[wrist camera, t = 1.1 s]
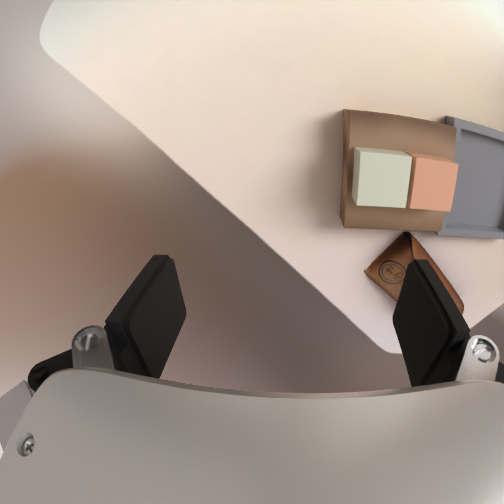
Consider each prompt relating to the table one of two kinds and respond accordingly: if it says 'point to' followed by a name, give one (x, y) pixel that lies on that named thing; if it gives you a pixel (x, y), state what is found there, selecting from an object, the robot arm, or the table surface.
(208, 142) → the table surface
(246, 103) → the table surface
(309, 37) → the table surface
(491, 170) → the tray
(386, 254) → the sunglasses case
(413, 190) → the tile
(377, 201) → the pale green rectangular block
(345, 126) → the brown square slab
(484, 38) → the table surface
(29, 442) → the robot arm
